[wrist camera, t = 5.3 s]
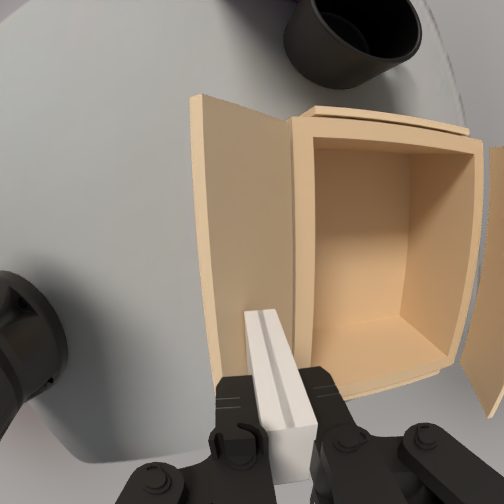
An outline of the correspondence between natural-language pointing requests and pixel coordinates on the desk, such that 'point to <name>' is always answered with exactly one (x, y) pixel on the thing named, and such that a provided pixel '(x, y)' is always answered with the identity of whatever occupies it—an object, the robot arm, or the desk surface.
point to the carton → (381, 244)
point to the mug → (350, 39)
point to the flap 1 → (241, 224)
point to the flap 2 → (489, 302)
